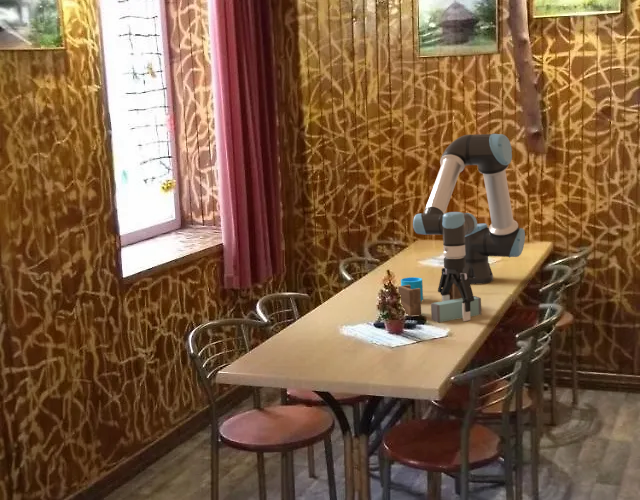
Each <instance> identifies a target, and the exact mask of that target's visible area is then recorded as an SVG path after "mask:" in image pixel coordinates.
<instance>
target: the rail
mask: <svg viewBox="0 0 640 500" xmlns="http://www.w3.org/2000/svg"><path fill="white" fill-rule="evenodd" d="M473 296H474V301H472V302H470V317H474V316H475V317H476V316H481V315H482V297H479V296H476V295H473ZM470 298H471V297H470ZM462 302H463V299H462V298H459V299H453V300H448V301H442V300H441V301H437V302H431V303H430V314H431V315H430V316H431V321H433V322H435V323H442V322H446V321H447V322H449V321H453V320H457V319H463V315H462Z"/></svg>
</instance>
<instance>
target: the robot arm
mask: <svg viewBox="0 0 640 500" xmlns="http://www.w3.org/2000/svg"><path fill="white" fill-rule="evenodd" d="M512 152H513V148H512V145H511V141H510V140H509V138H508V137H507V136H506V135H505V134H502V133H499V134H498V133H490V134H489V133H486V134H485V133H484V134H483V133H482V134H480V133H478V134H464V135H462V136H459V137H457V138H456V139H455V140H453V141H451V142H450V144H449V145H448V146H447V147H446V148H445V149H444V151H443V152H442V155H441V157H440V161H439V163H440V168H439V170H438V172H437V176H436V177H435V178H436V179H435V181H434V183H433V186H432V189H431V192H430V195H429V196H428V197H429V198H428V200H427V202H426V205H425V208H424V210H423V212H422V213H417V214H415V215H414V217H413V220H412V221H413V222H412V227H413V230H414V232H415V234H417V235H425V236H427V235H433V236H434V235H436V236H438V235H439V236H441V235H442V241H443V243H442V244H443V249H442V250H443V257H444V258H443V267H442V268H441V276H440V279H439V284H438V287H437V292H438V293H440V295H441V302H442V301H448V300H450V295H447V294H450V293H449V291H450V288H451V286H452V284H453V283H454V284H455V285H456V286H457V287H458V289H459V292H460V294H461V296H462V299H463V302H462V315H463V318H462V321H463V322H467V321H471V316H470V302H472V301H474V296H475V295H474V293H473V289H472V285H481V284H488V283H491V282H493V281H494V275H493V272H492V268H491V266H490V262H489V257H503V258H518V257H520V256H521V254H523V251H524V245H525V241H526V240H525V239H526V233H525V231H526V230H525V229H524V228H523V227H519V223H518V221H517V220H515V219H514V216H513V209H512V203H511V198H510V191H509V183H508V179H507V178H508V177H507V171H506V170H507V169H508V168H509V165H510V164H511V162H512V159H513V154H512ZM466 166H477V170H478V172H479V173H480V174H482V175H483V182H484V188H485V193H486V198H487V204H488V210H489V215H490V221H491V223H490V225H488V224H487V223H484V222H483V223H478V220H477V218H476V216H475V215H474V214H473V213H470V212H461V211H449V212H447V208H448V206H449V203H450V200H451V198H452V195H453V192H454V189H455V187H456V183H457V182H458V179H459V175H460V173H462V172H463V171H464V170H465V167H466ZM461 281H462V282H461ZM470 297H471V298H470Z"/></svg>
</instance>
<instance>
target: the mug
mask: <svg viewBox="0 0 640 500" xmlns="http://www.w3.org/2000/svg"><path fill="white" fill-rule="evenodd" d="M404 285H411V289H416V288H420V293H421V302H423V301H424V292H423V291H424V289H423V278H421V277H414V276H413V277H411V276H410V277H404V278H403V277H402V278H401V279H400V286H404ZM422 300H423V301H422Z"/></svg>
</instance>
